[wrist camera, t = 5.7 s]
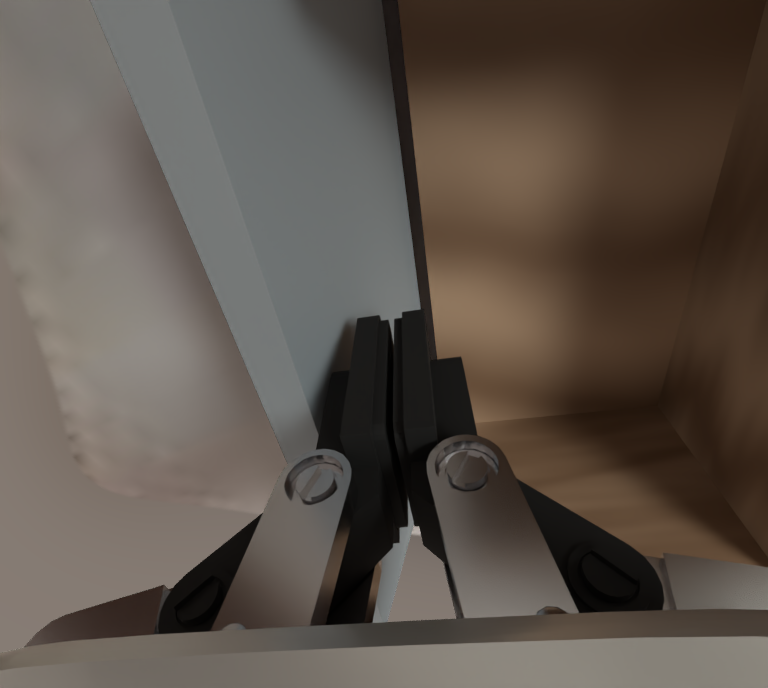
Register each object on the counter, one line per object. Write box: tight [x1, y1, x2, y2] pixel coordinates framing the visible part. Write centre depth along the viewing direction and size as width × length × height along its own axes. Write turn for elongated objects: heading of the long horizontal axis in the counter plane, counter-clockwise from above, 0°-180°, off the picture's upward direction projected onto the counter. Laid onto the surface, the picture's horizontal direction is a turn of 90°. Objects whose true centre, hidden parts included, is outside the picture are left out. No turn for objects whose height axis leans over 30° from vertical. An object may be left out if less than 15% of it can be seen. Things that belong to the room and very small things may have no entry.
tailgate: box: [90, 0, 421, 623], centre depth 13 cm, size 20×1×9 cm, turn 9°
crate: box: [398, 0, 768, 567], centre depth 13 cm, size 20×11×9 cm, turn 9°
